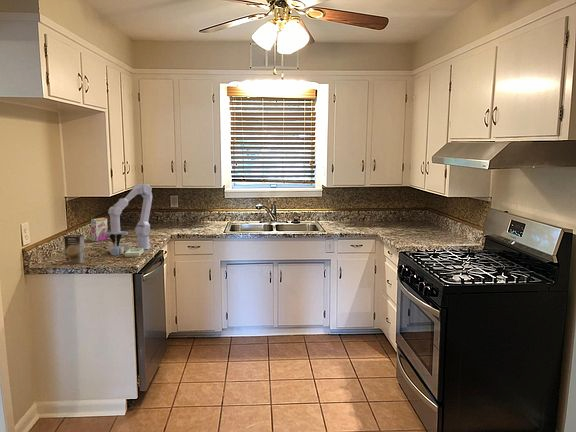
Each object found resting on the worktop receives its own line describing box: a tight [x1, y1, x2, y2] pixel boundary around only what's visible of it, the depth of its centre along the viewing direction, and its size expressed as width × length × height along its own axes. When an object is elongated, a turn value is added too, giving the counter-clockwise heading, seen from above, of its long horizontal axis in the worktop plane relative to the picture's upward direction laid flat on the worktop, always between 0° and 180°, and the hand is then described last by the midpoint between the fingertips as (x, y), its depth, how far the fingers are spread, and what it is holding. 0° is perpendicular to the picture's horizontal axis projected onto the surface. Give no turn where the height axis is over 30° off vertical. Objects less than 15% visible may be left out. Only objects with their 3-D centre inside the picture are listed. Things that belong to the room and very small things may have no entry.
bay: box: [107, 242, 131, 255], centre depth 291 cm, size 9×13×5 cm
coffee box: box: [64, 234, 86, 264], centre depth 263 cm, size 9×6×16 cm
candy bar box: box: [90, 217, 109, 242], centre depth 330 cm, size 11×5×16 cm, turn 152°
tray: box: [124, 247, 145, 258], centre depth 285 cm, size 15×9×2 cm, turn 6°
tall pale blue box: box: [110, 241, 122, 256], centre depth 287 cm, size 10×4×8 cm, turn 6°
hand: (116, 246), depth 287 cm, fingers closed
